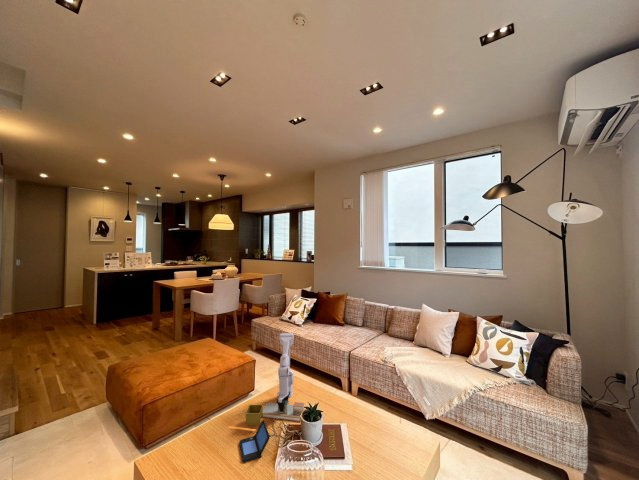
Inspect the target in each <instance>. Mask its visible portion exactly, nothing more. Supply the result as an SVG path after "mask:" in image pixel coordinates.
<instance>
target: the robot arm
mask: <svg viewBox="0 0 639 480" xmlns="http://www.w3.org/2000/svg"><path fill="white" fill-rule="evenodd" d="M294 335H295V334H294V333H291V332H290V333H281V332H280V334H279V344H280V345H281V346H282V355H281V356H280V360H279V367H278V371H277V375H278V385H279V386H278V391H277V395H278V398H277V399H276V404H278V406H279V409H280V412H283V411H284V405H285V402H286V401H289V399H291V398H292V395H293V394H295V393H294V392H293V391H294V389H293V388H294V387H293V384H294V372H293V370H291V369H290V368H291V367H290V366H291V346H292V345H294V339H295V338H294V337H295V336H294Z"/></svg>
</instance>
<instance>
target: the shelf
mask: <svg viewBox="0 0 639 480" xmlns="http://www.w3.org/2000/svg"><path fill="white" fill-rule="evenodd" d="M293 405H294V404H293ZM293 405H291V404H289V412H288V413H287V414H280V413H278V404H277V403H274V402H267V403H266V404H265V406H263V411H262V416H261V418H269V419H277V420H286V421H293V422H301V421H300V416H294V415H293Z"/></svg>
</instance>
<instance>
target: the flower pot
mask: <svg viewBox="0 0 639 480" xmlns="http://www.w3.org/2000/svg"><path fill="white" fill-rule="evenodd" d="M263 409H264V405H263V404H248V406H247V409H246V411H245V413H244V415H245V422H246V424H247V426H248V427H249V426H251V427H253V426H256V427H257V426H258V427H259V424H260V422H261V419H262V417H261V416H262V411H263Z"/></svg>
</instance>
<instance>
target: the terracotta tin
mask: <svg viewBox="0 0 639 480" xmlns="http://www.w3.org/2000/svg"><path fill="white" fill-rule="evenodd" d="M304 407H305V403H304V402H297V401H295V402H294V404H293V415H294V416H300V415H301V413H302V411H303V410H304Z"/></svg>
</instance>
